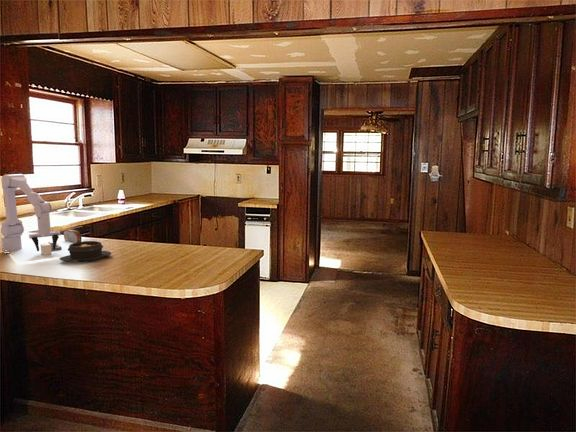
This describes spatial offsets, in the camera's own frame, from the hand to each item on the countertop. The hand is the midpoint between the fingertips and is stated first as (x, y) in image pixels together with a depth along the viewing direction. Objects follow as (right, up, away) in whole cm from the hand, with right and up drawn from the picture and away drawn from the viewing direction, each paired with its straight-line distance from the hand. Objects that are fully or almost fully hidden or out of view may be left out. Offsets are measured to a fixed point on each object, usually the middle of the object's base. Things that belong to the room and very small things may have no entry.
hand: (46, 249), depth 233 cm
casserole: (+24, -5, -5) cm, 25 cm away
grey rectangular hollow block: (-4, -1, +14) cm, 14 cm away
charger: (0, -4, +1) cm, 4 cm away
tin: (-2, +1, +33) cm, 33 cm away
